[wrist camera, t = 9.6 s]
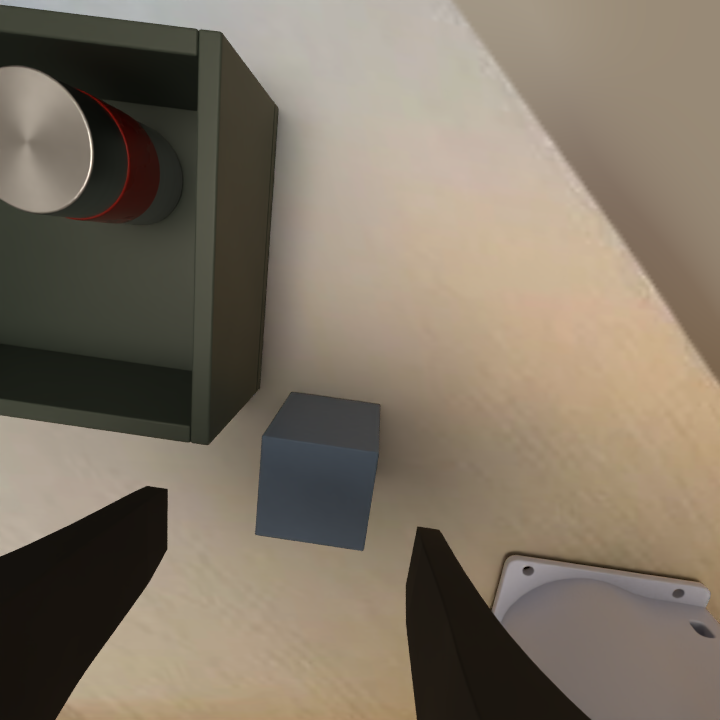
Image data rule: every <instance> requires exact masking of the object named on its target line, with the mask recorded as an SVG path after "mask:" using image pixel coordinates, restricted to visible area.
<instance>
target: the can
mask: <svg viewBox="0 0 720 720" xmlns="http://www.w3.org/2000/svg"><path fill="white" fill-rule="evenodd" d="M182 183H183V180H182V171H181V166H180V163H179V160H178V157H177V155H176V153H175V151H174V150H173V148H172V147H171V145H170V144H169V143H168V141H167V140H166V139H165V138H164V137H163V136H162V135H160V134H159V133H158V132H156V131H155V130H153V129H152V128H150V127H148V126H146V125H144V124H142V123H140V122H138V121H136V120H134V119H133V118H132V117H131V116H129V115H128V114H126V113H124V112H123V111H121V110H119V109H117V108H115V107H113V106H111V105H109V104H107V103H106V102H104V101H102V100H100V99H98V98H96V97H94V96H92V95H91V94H89V93H87V92H85V91H82V90H80V89H77V88H73V87H71V86H70V85H68V84H66V83H64V82H62V81H60V80H58V79H56V78H54V77H52V76H50V75H49V74H47V73H45V72H43V71H41V70H38V69H35V68H32V67H28V66H22V65H10V66H3V67H0V199H1V200H2V201H4V202H6V203H7V204H9V205H10V206H12V207H14V208H16V209H18V210H21V211H24V212H28V213H33V214H40V215H50V216H59V217H65V218H68V219H73V220H82V221H92V222H102V223H114V224H117V223H126V224H136V225H149V224H153V223H156V222H159V221H161V220H162V219H164V218H165V217H167V216H168V215H169V214H170V213H171V212H172V211H173V210H174V208H175V207H176V205H177V203H178V201H179V198H180V195H181V191H182Z"/></svg>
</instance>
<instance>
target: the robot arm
mask: <svg viewBox="0 0 720 720" xmlns="http://www.w3.org/2000/svg"><path fill="white" fill-rule="evenodd" d="M167 511H168V489H163V488H157V487H150V486H146V487H144V488H141V489H139V490H137V491H135V492H133V493H131V494H129V495H127V496H125V497H123V498H121V499H119V500H117V501H115V502H114V503H112V504H110V505H108V506H106V507H104V508H102V509H100V510H98V511H96V512H94V513H92V514H90V515H88V516H86V517H84V518H83V519H81V520H79V521H77V522H75V523H73V524H71V525H69V526H67V527H64V528H62V529H60V530H58V531H56V532H54V533H52V534H50V535H48V536H45V537H43V538H41V539H39V540H37V541H35V542H33V543H31V544H28V545H26V546H24V547H22V548H19V549H17V550H15V551H13V552H10V553H8V554H5V555H3V556H1V557H0V720H55V719H56V718H57V716H58V714H59V713H60V711H61V709H62V708H63V706H64V705H65V703H66V701H67V700H68V698H69V696H70V695H71V693H72V691H73V690H74V688H75V686H76V685H77V683H78V682H79V680H80V679H81V677H82V676H83V674H84V673H85V671H86V670H87V668H88V667H89V666H90V664H91V663H92V661H93V660H94V659H95V657H96V656H97V654H98V653H99V652H100V650H101V649H102V648H103V646H104V645H105V643H106V642H107V641H108V639H109V638H110V636H111V635H112V634H113V632H114V631H115V630H116V628H117V627H118V625H119V624H120V623H121V621H122V620H123V618H124V617H125V616H126V614H127V613H128V612H129V610H130V609H131V607H132V606H133V605H134V603H135V602H136V600H137V599H138V597H139V596H140V595H141V593H142V592H143V590H144V589H145V588H146V586H147V585H148V583H149V581H150V580H151V578H152V576H153V574H154V573H155V571H156V569H157V567H158V565H159V564H160V562H161V560H162V558H163V556H164V554H165V552H166V551H167ZM526 566H530V568H528V569H523V568H525V567H526ZM676 589H677V590H676ZM674 590H675V591H674ZM710 595H711V593H710V591H709V590H708V589H707V588H706V587H705V586H704V585H703V584H702V583H699V582H694V581H687V580H681V579H674V578H667V577H661V576H654V575H647V574H640V573H634V572H627V571H620V570H614V569H607V568H600V567H594V566H587V565H580V564H573V563H567V562H560V561H553V560H547V559H540V558H533V557H527V556H520V555H513V556H510V557H508V558H507V559H506V561H505V563H504V567H503V571H502V574H501V578H500V582H499V586H498V589H497V593H496V597H495V600H494V604H493V608H492V611H491V610H490V608H489V607H488V606H487V604H486V603H485V601H484V600H483V598H482V597H481V596H480V594H479V593H478V591H477V590H476V588H475V587H474V585H473V584H472V582H471V581H470V579H469V578H468V576H467V575H466V573H465V572H464V570H463V568H462V567H461V565H460V563H459V562H458V560H457V559H456V557H455V555H454V554H453V552H452V550H451V549H450V547H449V545H448V543H447V542H446V540H445V538H444V537H443V535H442V533H441V532H440V530H437V529H431V528H424V527H417V531H416V536H415V542H414V547H413V552H412V557H411V562H410V567H409V572H408V577H407V582H406V627H407V636H408V645H409V654H410V663H411V671H412V680H413V689H414V697H415V706H416V715H417V720H720V624H719V623H718V621H717V620H716V619H715V618H714V617H713V616H712V615H711V614H710V613H709V611H708V610H707V609H706V606H707V604H708V601H709V599H710Z"/></svg>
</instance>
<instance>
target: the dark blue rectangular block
mask: <svg viewBox="0 0 720 720" xmlns="http://www.w3.org/2000/svg"><path fill="white" fill-rule="evenodd" d="M379 431H380V405H379V404H373V403H366V402H359V401H352V400H345V399H338V398H331V397H324V396H317V395H310V394H303V393H296V392H291V393H290V395H289V396H288V398H287V399H286V401H285V402H284V404H283V405H282V407H281V408H280V410H279V412H278V413H277V415H276V416H275V418H274V419H273V421H272V422H271V424H270V425H269V427H268V428H267V430H266V431H265V433H264V434H263V436H262V445H261V459H260V474H259V488H258V502H257V516H256V530H255V534H256V535H260V536H267V537H273V538H280V539H287V540H293V541H300V542H307V543H313V544H320V545H327V546H333V547H340V548H346V549H353V550H360V551H363V550H364V545H365V539H366V533H367V526H368V520H369V514H370V507H371V501H372V494H373V488H374V482H375V475H376V469H377V462H378V456H379Z"/></svg>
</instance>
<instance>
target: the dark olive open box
mask: <svg viewBox="0 0 720 720" xmlns="http://www.w3.org/2000/svg"><path fill="white" fill-rule="evenodd" d="M10 65H22V66H28V67H32V68H35V69H38V70H41V71H43V72H45V73H47V74H49V75H50V76H52V77H54V78H56V79H58V80H60V81H62V82H64V83H66V84H68V85H70V86H71V87H73V88H77V89H80V90H82V91H85V92H87V93H89V94H91V95H92V96H94V97H96V98H98V99H100V100H102V101H104V102H106V103H107V104H109V105H111V106H113V107H115V108H117V109H119V110H121V111H123V112H124V113H126V114H128V115H129V116H131V117H132V118H133V119H134V120H136V121H138V122H140V123H142V124H144V125H146V126H148V127H150V128H152V129H153V130H155V131H156V132H158V133H159V134H160V135H162V136H163V137H164V138H165V139H166V140H167V141H168V143H169V144H170V145H171V147H172V148H173V150H174V151H175V153H176V155H177V157H178V160H179V163H180V166H181V171H182V180H183V183H182V191H181V195H180V198H179V201H178V203H177V205H176V207H175V208H174V210H173V211H172V212H171V213H170V214H169V215H168V216H167V217H165V218H164V219H162V220H161V221H159V222H156V223H153V224H149V225H136V224H126V223H117V224H114V223H102V222H92V221H82V220H73V219H68V218H65V217H59V216H50V215H40V214H33V213H28V212H24V211H21V210H18V209H16V208H14V207H12V206H10V205H9V204H7V203H6V202H4V201H2V200H1V199H0V415H3V416H10V417H17V418H24V419H31V420H37V421H44V422H51V423H58V424H65V425H72V426H79V427H85V428H92V429H99V430H106V431H113V432H120V433H127V434H133V435H140V436H147V437H154V438H161V439H168V440H175V441H181V442H192V443H196V444H203V445H209V444H210V443H211V442H212V440H213V439H214V438H215V437H216V436H217V435H218V434H219V433H220V432H221V431H222V429H223V428H224V427H225V426H226V425H227V424H228V423H229V422H230V421H231V419H232V418H233V417H234V416H235V415H236V414H237V413H238V412H239V411H240V410H241V408H242V407H243V406H244V405H245V404H246V403H247V402H248V401H249V400H250V398H251V397H252V396H253V395H254V394H255V393H256V392H257V391H258V390H259V388H260V376H261V361H262V345H263V330H264V315H265V300H266V285H267V270H268V255H269V240H270V225H271V210H272V195H273V180H274V165H275V150H276V135H277V120H278V107H277V106H276V104H275V103H274V102H273V100H272V99H271V98H270V96H269V95H268V94H267V92H266V91H265V90H264V88H263V87H262V86H261V84H260V83H259V82H258V80H257V79H256V78H255V76H254V75H253V74H252V72H251V71H250V70H249V68H248V67H247V66H246V64H245V63H244V62H243V60H242V59H241V58H240V56H239V55H238V54H237V52H236V51H235V49H234V48H233V47H232V45H231V44H230V43H229V41H228V40H227V39H226V37H225V36H224V35H223V33H221V32H218V31H210V30H199V31H198V30H197V29H193V28H185V27H177V26H169V25H161V24H153V23H145V22H137V21H128V20H120V19H112V18H104V17H96V16H88V15H80V14H71V13H63V12H55V11H47V10H39V9H31V8H23V7H15V6H6V5H0V67H3V66H10Z"/></svg>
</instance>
